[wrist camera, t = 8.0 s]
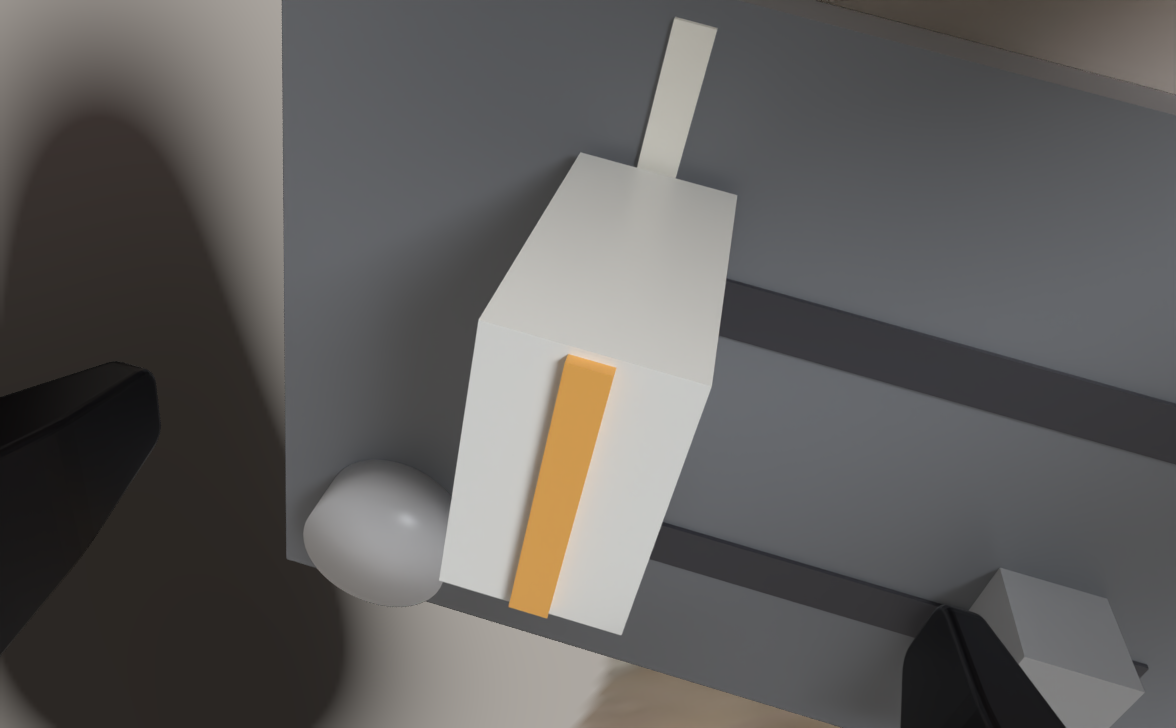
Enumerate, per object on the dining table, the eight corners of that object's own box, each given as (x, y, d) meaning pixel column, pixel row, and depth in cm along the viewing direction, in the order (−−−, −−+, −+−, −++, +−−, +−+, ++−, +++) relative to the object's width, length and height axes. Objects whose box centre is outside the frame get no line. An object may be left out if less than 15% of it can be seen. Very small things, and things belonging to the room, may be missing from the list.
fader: (737, 195, 12) (711, 396, 8) (667, 404, 15) (619, 645, 10) (580, 151, 12) (473, 327, 8) (536, 366, 15) (434, 590, 11)
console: (1827, 264, 12) (2164, 412, 9) (1204, 781, 20) (1275, 946, 17) (330, -127, 13) (197, -108, 10) (316, 514, 21) (240, 627, 18)
